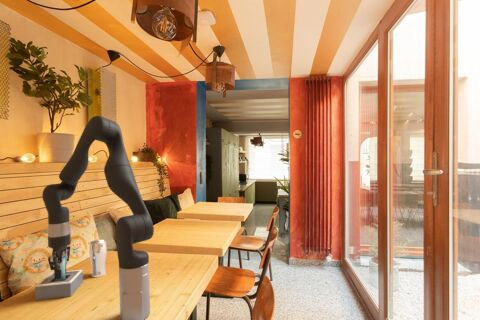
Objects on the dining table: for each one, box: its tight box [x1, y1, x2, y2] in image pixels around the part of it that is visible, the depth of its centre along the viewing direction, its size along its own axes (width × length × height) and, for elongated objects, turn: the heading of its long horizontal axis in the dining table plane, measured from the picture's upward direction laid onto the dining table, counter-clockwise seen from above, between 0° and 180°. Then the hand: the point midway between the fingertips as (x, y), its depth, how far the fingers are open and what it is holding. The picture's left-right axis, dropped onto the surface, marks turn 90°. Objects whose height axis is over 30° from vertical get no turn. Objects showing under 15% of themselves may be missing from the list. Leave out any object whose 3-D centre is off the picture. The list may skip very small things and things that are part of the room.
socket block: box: [34, 269, 84, 301], centre depth 107 cm, size 12×12×5 cm
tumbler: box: [88, 238, 108, 278], centre depth 122 cm, size 7×7×15 cm
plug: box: [55, 253, 66, 281], centre depth 107 cm, size 4×4×12 cm
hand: (60, 276), depth 107 cm, fingers closed on plug, 3 cm apart
